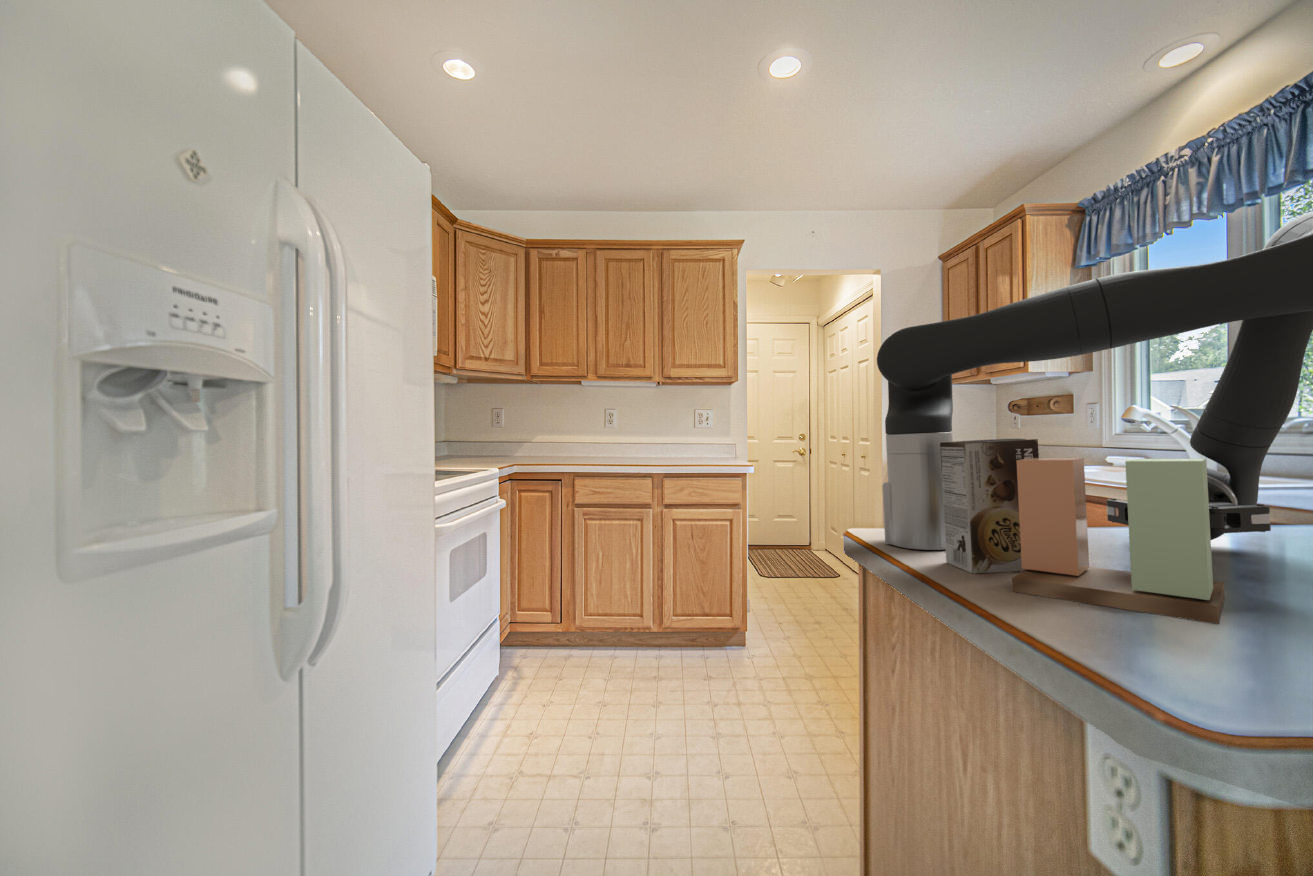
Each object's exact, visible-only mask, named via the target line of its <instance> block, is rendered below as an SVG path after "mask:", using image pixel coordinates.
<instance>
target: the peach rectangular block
mask: <svg viewBox="0 0 1313 876" xmlns="http://www.w3.org/2000/svg"><path fill="white" fill-rule="evenodd" d="M1017 480H1018V500H1019V521H1020V541H1021V562H1022V569H1030V570H1038V571H1045V572H1053V573H1061V574H1069V575H1076V576H1079V575H1080V574H1081V573H1083V572H1084V571H1085V570H1086V569H1088V568H1089V567H1090V557H1089V536H1088V535H1089V534H1088V533H1089V531H1088V514H1087V498H1086V494H1087V493H1086V477H1085V459H1084V457H1039V458H1028V459H1021V460H1017Z"/></svg>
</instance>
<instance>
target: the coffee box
mask: <svg viewBox="0 0 1313 876" xmlns="http://www.w3.org/2000/svg"><path fill="white" fill-rule="evenodd" d="M1038 440H1039V439H1038V438H1037V439H1035V438H1034V439H1033V438H1030V439H1026V438H995V439H993V438H992V439H989V438H988V439H975V440H974V439H973V440H971V439H970V440H960V441H959V440H958V441H953V442H941V443H940V452H941V471H942V490H943V508H944V525H945V544H946V549H945V560H946V561H945V562H946V563H947V564H949V565H951V566H954V567H957V568H958V569H960V570H963V571H966V572H968V573H970V574H988V573H992V574H993V573H1006V572H1007V573H1011V572H1012V573H1013V572H1021V571H1023V570H1025V569H1022V562H1021V541H1020V521H1019V500H1018V480H1017V460H1021V459H1028V458H1040V454H1039V441H1038Z"/></svg>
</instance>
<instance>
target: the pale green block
mask: <svg viewBox="0 0 1313 876" xmlns="http://www.w3.org/2000/svg"><path fill="white" fill-rule="evenodd" d="M1124 463H1125V479H1126V480H1125V482H1126V499H1127V500H1126V501H1127V504H1128V523H1129V525H1128V539H1129V541H1128V543H1129V557H1130V558H1129V560H1130V572H1131V581H1132V590H1138V591H1145V592H1153V593H1160V594H1167V595H1175V596H1182V597H1189V598H1197V599H1204V600H1210V597H1211V594H1212V590H1213V582H1214V578H1213V560H1212V559H1213V558H1212V540H1211V538H1210V519H1209V501H1208V482H1207V468H1208V466H1207V458H1132V459H1129V460H1125V462H1124Z"/></svg>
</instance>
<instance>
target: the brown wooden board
mask: <svg viewBox="0 0 1313 876" xmlns="http://www.w3.org/2000/svg"><path fill="white" fill-rule="evenodd" d="M1011 583H1012V584H1011V585H1012V593H1013V592H1014V593H1020V594H1026V595H1032V596H1033V595H1034V596H1039V597H1046V598H1050V599H1051V598H1052V599H1059V600H1064V601H1065V600H1066V601H1072V602H1078V603H1084V604H1090V605H1097V606H1102V607H1108V608H1115V609H1121V610H1127V611H1134V612H1141V613H1147V614H1153V615H1159V616H1166V617H1171V618H1177V619H1184V620H1189V621H1190V620H1191V621H1197V622H1203V623H1210V624H1217V625H1219V623H1220V621H1221V615H1222V612H1223V607H1224V603H1225V599H1226V598H1225V597H1226V595H1225V583H1224V582H1220V581H1213V590H1212V594H1211V597H1210V600H1204V599H1197V598H1189V597H1182V596H1175V595H1167V594H1160V593H1153V592H1145V591H1138V590H1132V581H1131V571H1127V570H1126V571H1125V570H1120V569H1119V570H1117V569H1109V568H1100V567H1095V566H1093V567H1092V566H1089V568H1088V569H1086V570H1085V571H1084V572H1083V573H1081V574H1080V575H1079V576H1076V575H1069V574H1061V573H1053V572H1045V571H1038V570H1030V569H1025V570H1023V571H1019V573H1017V574H1015V575H1013V576H1012V577H1011Z"/></svg>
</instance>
